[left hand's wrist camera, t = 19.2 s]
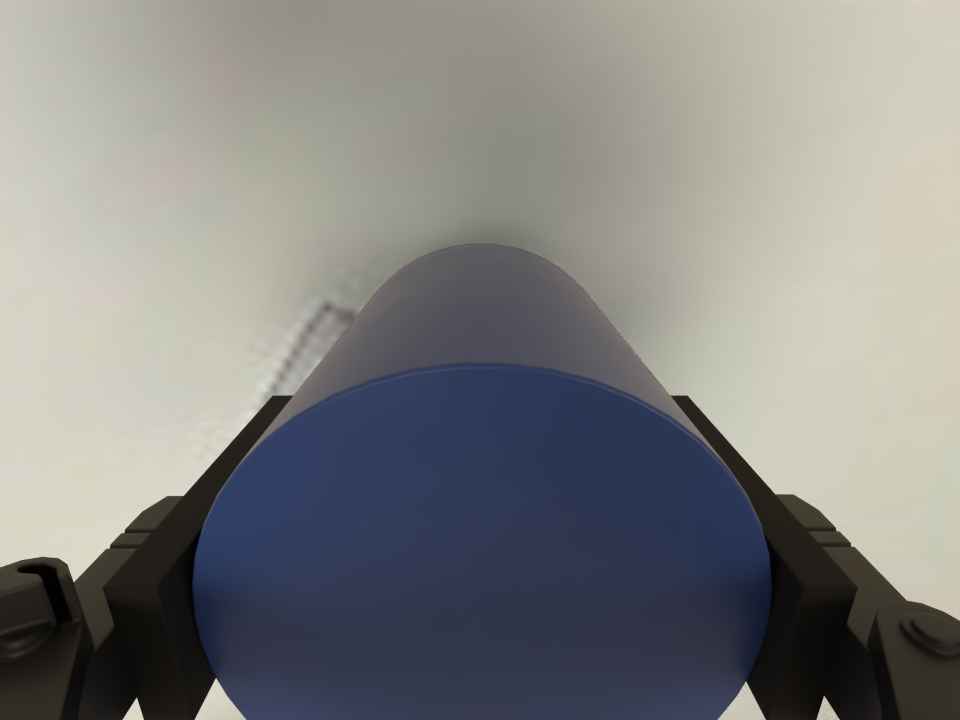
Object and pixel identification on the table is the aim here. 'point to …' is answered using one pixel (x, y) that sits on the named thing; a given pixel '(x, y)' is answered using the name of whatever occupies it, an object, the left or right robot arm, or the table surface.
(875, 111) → the table surface
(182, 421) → the table surface
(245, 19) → the table surface
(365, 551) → the can
